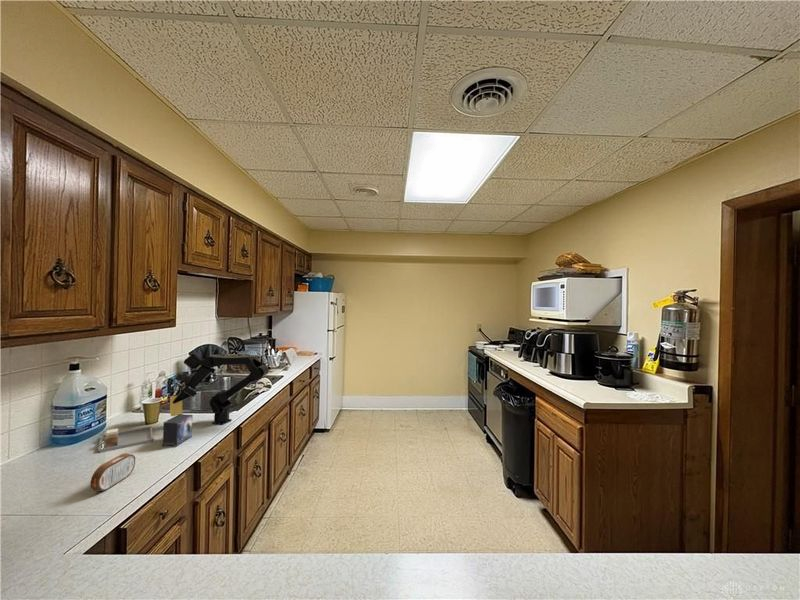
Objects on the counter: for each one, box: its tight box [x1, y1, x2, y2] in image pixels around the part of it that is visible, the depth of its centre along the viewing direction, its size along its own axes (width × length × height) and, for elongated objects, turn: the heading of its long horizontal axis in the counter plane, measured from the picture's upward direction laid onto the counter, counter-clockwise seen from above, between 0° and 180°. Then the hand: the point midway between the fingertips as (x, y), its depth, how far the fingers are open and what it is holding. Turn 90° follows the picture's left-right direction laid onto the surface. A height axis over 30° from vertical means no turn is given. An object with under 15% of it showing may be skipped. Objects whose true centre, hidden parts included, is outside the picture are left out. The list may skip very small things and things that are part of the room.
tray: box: [97, 425, 155, 454], centre depth 147 cm, size 18×18×2 cm
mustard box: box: [169, 395, 183, 417], centre depth 163 cm, size 4×4×8 cm
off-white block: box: [105, 428, 119, 436], centre depth 146 cm, size 4×4×4 cm
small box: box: [162, 413, 194, 448], centre depth 146 cm, size 11×6×10 cm, turn 179°
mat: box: [155, 422, 197, 432], centre depth 163 cm, size 12×12×1 cm
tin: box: [89, 452, 136, 492], centre depth 114 cm, size 15×3×8 cm, turn 178°
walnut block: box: [105, 434, 118, 448], centre depth 141 cm, size 4×4×4 cm
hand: (172, 401), depth 162 cm, fingers closed on mustard box, 4 cm apart
